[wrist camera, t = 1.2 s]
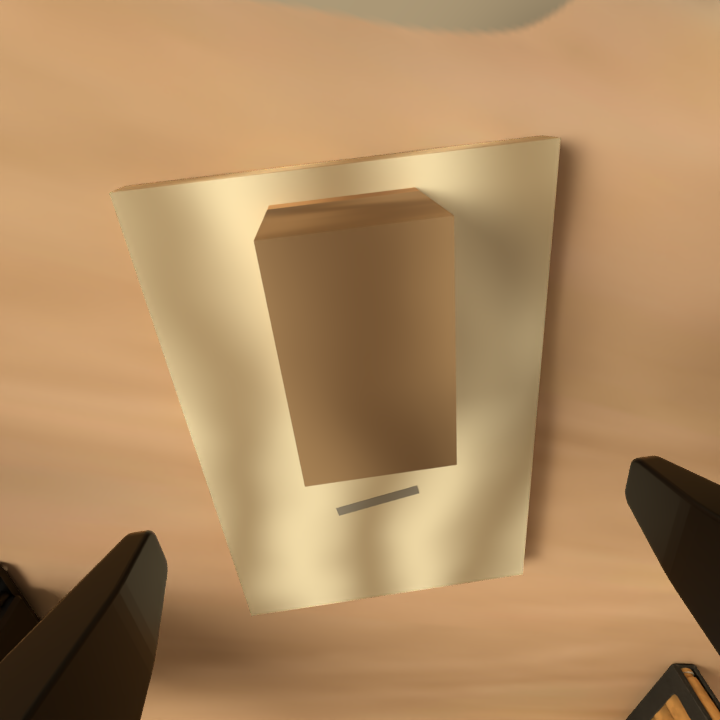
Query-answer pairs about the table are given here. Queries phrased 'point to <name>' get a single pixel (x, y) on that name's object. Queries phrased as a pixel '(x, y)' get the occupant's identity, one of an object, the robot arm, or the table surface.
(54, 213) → the table surface
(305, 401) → the block
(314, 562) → the pine board
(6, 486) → the table surface
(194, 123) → the table surface
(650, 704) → the ammunition clip
